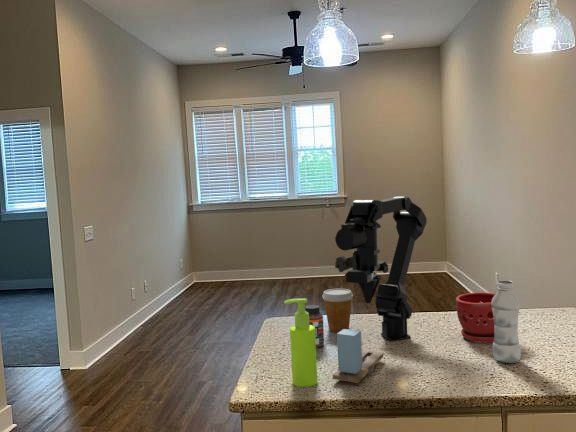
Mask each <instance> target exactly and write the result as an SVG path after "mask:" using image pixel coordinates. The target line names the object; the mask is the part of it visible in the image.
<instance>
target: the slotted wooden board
mask: <svg viewBox="0 0 576 432" xmlns="http://www.w3.org/2000/svg"><path fill="white" fill-rule="evenodd" d="M383 358H384V352H378V351H371V350H370V351H369V350H364V349H363V350H362V369H361V370H360V371H359V372H358V373H357V374H353V373H351V374H350V375H347V372H340V371H339V369H338V368H337V370H336V371H335V372H334V373H333V374H332V379H333V380H338V381H345V382H351V383H356V384H358V383H359V382H360V381H361V380H362V379H363V378H365V376H366V377H369V376H370V375H371V374H372V373H373V372H374V371H375V369H374V367H375V366H376V365H377V364H378V363H379V362H380V361H381V360H382V359H383Z"/></svg>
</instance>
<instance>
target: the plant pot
mask: <svg viewBox="0 0 576 432" xmlns="http://www.w3.org/2000/svg"><path fill="white" fill-rule="evenodd" d="M495 294H496V293H494V292H493V293H492V292H468V293H463V294H460V295H457V296H456V297H455V307H456V312H457V318H458V321H459V325H460V326H461V328H462V329H461V331H460V333H461V335H462V336H463V338H465V339H466V340H467V341H470V342H475V343H480V344H487V343H488V344H489V343H493V342H494V330H495V328H494V317H493V311H492V305H491V301H492V298H493V297H494V295H495Z"/></svg>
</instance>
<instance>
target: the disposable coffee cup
mask: <svg viewBox="0 0 576 432" xmlns="http://www.w3.org/2000/svg"><path fill="white" fill-rule="evenodd" d="M321 297H322V298H323V302H324V307H325V315H326V319H327V326H328V330H329V332H334V333H339V332H340V331H341V330H343V329H349V330H350V324H351V323H350V322H351V308H352V299H353V297H354V295H353V292H352V291H351V290H350V289H348V288H331V289H325V290H324V291H323V294H322V296H321Z"/></svg>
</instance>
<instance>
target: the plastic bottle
mask: <svg viewBox="0 0 576 432" xmlns="http://www.w3.org/2000/svg"><path fill="white" fill-rule="evenodd" d="M496 290H497V292H496V293H494V294H495V295H494V297H493V298H492V301H491V305H492V311H493V317H494V328H495V330H494V342H492V356H493V358H494V359H495V360H496V361H498V362H501V363H506V364H514V363H515V364H516V363H517V362H519V361H520V359H521V356H522V349H521V344H520V342H519V341H520V340H519V339H520V338H519V331H518V329H519V327H518V326H519V325H518V324H519V313H520V305H521V304H520V301H519V299H518V298H517V296H516V294H515V293H514V292H513V291H514V281H511V280H498V281H497V282H496Z"/></svg>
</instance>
